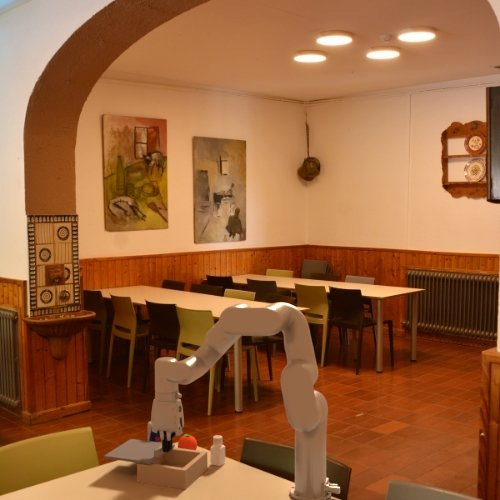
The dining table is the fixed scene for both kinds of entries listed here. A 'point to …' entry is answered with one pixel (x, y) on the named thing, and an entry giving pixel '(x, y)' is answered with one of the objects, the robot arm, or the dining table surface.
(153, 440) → the energy drink
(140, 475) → the mailer box
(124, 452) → the box lid
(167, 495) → the dining table surface
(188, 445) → the clementine
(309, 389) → the robot arm
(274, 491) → the dining table surface
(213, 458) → the pepper shaker
